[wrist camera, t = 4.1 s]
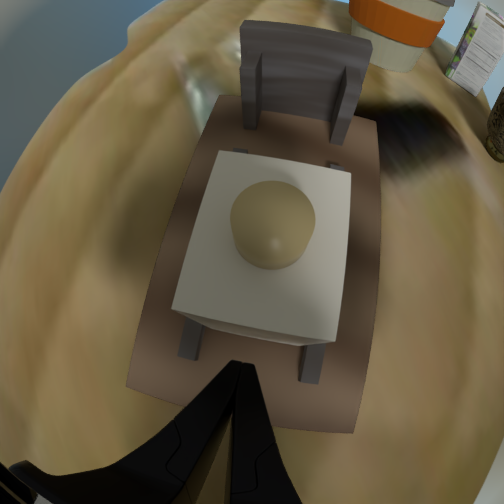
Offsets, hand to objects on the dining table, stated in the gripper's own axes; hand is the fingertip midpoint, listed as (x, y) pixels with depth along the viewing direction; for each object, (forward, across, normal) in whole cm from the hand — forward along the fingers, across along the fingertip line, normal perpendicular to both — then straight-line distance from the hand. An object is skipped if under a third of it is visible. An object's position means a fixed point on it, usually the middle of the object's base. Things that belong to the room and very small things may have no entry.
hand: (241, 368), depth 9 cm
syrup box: (+33, -24, -22) cm, 47 cm away
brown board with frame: (+11, 0, -1) cm, 11 cm away
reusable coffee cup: (+32, -10, -21) cm, 39 cm away
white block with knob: (+7, 0, +1) cm, 8 cm away
